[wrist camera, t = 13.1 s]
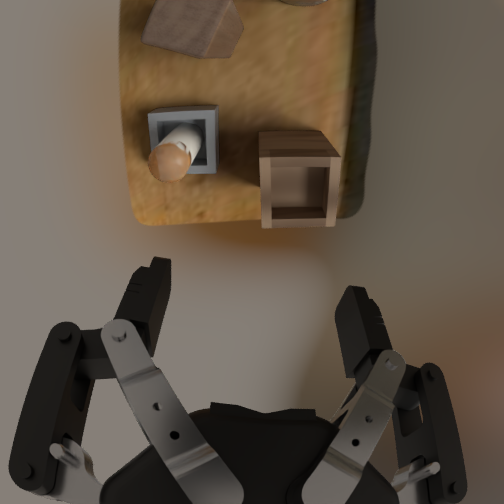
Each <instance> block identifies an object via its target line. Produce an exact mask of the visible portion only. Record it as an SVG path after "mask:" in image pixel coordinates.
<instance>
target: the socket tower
mask: <svg viewBox="0 0 504 504" xmlns="http://www.w3.org/2000/svg"><path fill="white" fill-rule="evenodd" d="M259 165H260V189H261V215H262V228H286V227H287V228H288V227H332V226H335V220H336V211H337V201H338V191H339V180H340V167H341V156H340V155H339V154H338V152H337V151H336V150H335V148H334V147H333V146H332V145H331V143H330V142H329V141H328V139H327V138H326V137H325V136H324V134H323V133H322V132H321V131H259Z"/></svg>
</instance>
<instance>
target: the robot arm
mask: <svg viewBox="0 0 504 504" xmlns="http://www.w3.org/2000/svg"><path fill="white" fill-rule="evenodd" d="M280 1H283V2H285V3H287V4H291V5H295V6H314V5H318V4H321V3H323V2H325V1H327V0H280ZM170 291H171V259H167V258H161V257H154V258H153V260H152V262H151V265H150V267H143V266H141V267H140V268H139V269H137V270H136V271H135V272H134V273H133V275H132V277H131V279H130V281H129V284H128V286H127V289H126V291H125V293H124V296H123V298H122V300H121V302H120V305H119V307H118V310H117V312H116V315H115V317H114V319H113V320H112V321H110V322H108V323H107V324H106V325H105V326H104V327H103V328H101V329H95V330H80V329H79V327H78V326H77V325H76V324H74V323H72V322H61V323H59V324H57V325H55V326H54V327H53V328H52V329H51V331H50V333H49V335H48V338H47V340H46V343H45V345H44V348H43V350H42V353H41V356H40V358H39V361H38V363H37V366H36V369H35V372H34V374H33V377H32V380H31V383H30V386H29V389H28V392H27V395H26V398H25V401H24V405H23V408H22V411H21V415H20V419H19V422H18V426H17V430H16V434H15V437H14V442H13V446H12V450H11V455H10V460H9V473H10V476H11V478H12V480H13V481H14V482H15V484H17V486H19V487H20V488H22V489H24V490H26V491H29V492H31V493H33V494H35V495H38V496H41V497H44V498H47V499H52V500H57V501H65V502H67V503H70V504H456V503H458V502H460V501H461V500H462V499H463V498H464V497H465V495H466V492H467V479H466V472H465V465H464V459H463V454H462V449H461V443H460V438H459V433H458V429H457V424H456V420H455V416H454V412H453V408H452V404H451V400H450V397H449V393H448V389H447V385H446V382H445V379H444V375H443V373H442V371H441V369H440V368H439V367H438V366H437V365H435V364H433V363H425V364H424V365H423V366H422V367H421V368H417V367H414V366H411V365H408V364H406V363H405V360H404V359H403V357H402V356H401V355H400V354H399V353H398V352H396V351H394V350H393V349H392V345H391V342H390V339H389V336H388V333H387V330H386V327H385V325H384V321H383V318H382V315H381V312H380V309H379V307H378V306H377V304H376V303H375V302H374V301H373V299H369V297H368V295H367V292H366V289H365V288H364V287H358V286H351V285H350V286H348V287H347V288H346V290H345V292H344V294H343V296H342V298H341V300H340V302H339V304H338V306H337V308H336V311H335V323H336V327H337V332H338V337H339V342H340V347H341V352H342V357H343V363H344V367H345V373H346V378H355V380H356V383H355V384H354V385H353V387H352V388H351V390H350V392H349V393H348V395H347V396H346V398H345V400H344V401H343V403H342V404H341V406H340V407H339V409H338V411H337V412H336V413H335V415H334V416H333V417H332V418H331V420H330V421H327V420H325V419H323V418H320V417H318V416H316V412H315V409H287V410H282V411H277V412H271V413H261V412H257V411H254V410H251V409H248V408H245V407H242V406H239V405H232V404H223V403H215V402H211V405H210V408H208V409H202V410H197V411H194V412H192V413H189V414H188V413H187V412H186V410H185V409H184V407H183V406H182V404H181V402H180V401H179V399H178V398H177V396H176V394H175V393H174V391H173V390H172V388H171V386H170V384H169V383H168V381H167V379H166V378H165V376H164V374H163V373H162V371H161V370H160V369H159V368H157V367H156V366H155V364H154V363H153V361H152V359H151V357H153V356H154V352H155V348H156V344H157V341H158V337H159V333H160V329H161V325H162V322H163V318H164V315H165V311H166V308H167V304H168V301H169V297H170ZM109 378H116V379H117V381H118V383H119V385H120V387H121V389H122V391H123V393H124V396H125V398H126V400H127V402H128V404H129V406H130V408H131V410H132V412H133V414H134V416H135V418H136V420H137V422H138V424H139V426H140V427H141V429H142V431H143V433H144V435H145V436H146V438H147V440H148V442H149V444H150V445H149V446H148V447H147V448H146V449H145V450H143V451H142V452H141V453H140V454H138V455H137V456H136V457H135V458H133V459H132V460H131V461H130V462H128V463H127V464H126V465H125V466H123V467H122V468H121V469H120V470H118V471H117V472H116V473H114V474H113V475H112V476H111V477H109V478H108V479H107V480H106V482H105V483H104V485H102V484H101V483H100V482H99V481H98V480H97V479H96V477H95V475H94V472H93V461H92V459H91V457H90V455H89V454H88V453H87V452H86V451H85V450H84V449H83V448H82V447H81V442H82V436H83V432H84V427H85V422H86V417H87V413H88V408H89V404H90V400H91V395H92V391H93V387H94V383H95V379H109ZM419 404H420V405H421V410H422V415H423V423H422V420H421V416H420V410H419ZM391 414H392V420H393V426H394V433H395V440H396V449H397V457H398V465H399V466H398V467H399V470H398V471H397V472H396V474H395V477H394V480H393V481H392V483H391V484H390V483H389V482H388V481H387V480H386V479H385V478H384V477H383V476H382V475H381V474H380V473H379V472H378V471H377V470H376V469H375V468H374V467H373V465H371V464H370V462H369V461H368V459H369V457H370V456H371V454H372V452H373V450H374V448H375V446H376V444H377V442H378V440H379V438H380V437H381V434H382V433H383V431H384V428H385V426H386V424H387V422H388V420H389V418H390V416H391Z"/></svg>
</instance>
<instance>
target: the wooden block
mask: <svg viewBox="0 0 504 504" xmlns="http://www.w3.org/2000/svg"><path fill="white" fill-rule="evenodd" d="M243 29H244V26H243V24H242V21H241V19H240V17H239V14H238V12H237V10H236V7H235V5H234V3H233V0H156V1H155V4H154V6H153V8H152V11H151V13H150V15H149V18H148V20H147V23H146V25H145V28H144V30H143V33H142V35H141V42H142V43H144V44H147V45H151V46H155V47H159V48H163V49H167V50H171V51H175V52H178V53H182V54H185V55H189V56H192V57H196V58H199V59H200V58H229V57H231V55H232V53H233V50H234V48H235V46H236V44H237V42H238V40H239V38H240V35H241V33H242V31H243Z"/></svg>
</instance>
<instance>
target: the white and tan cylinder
mask: <svg viewBox="0 0 504 504" xmlns="http://www.w3.org/2000/svg"><path fill="white" fill-rule="evenodd" d="M203 141H204V136H203V132H202V130H201V129H200V128H199V127H198V126H197V125H195V124H193V123H182V124H179V125H178V126H177V127H176V128H175V129H173V130H172V131H171V132H170V133H169V134H168V135H167V136H166V137H165V138H164V139H163V140H162V141H161V142H160V143H159V144H158V145H157V146H156V147H155V148H154V149H153V151H152V152H151V153H150V155H149V159H148V166H149V169H150V172H151V173H152V175H153V176H154V177H155V178H156V179H158V180H160V181H162V182H165V183H174V182H177V181H179V180H181V179H182V178H183V177H184V176H185V175H186V173H187V171H188V169H189V167H190V166H191V164H192V162H193V160H194V158H195V157H196V155H197V153H198V151H199V150H200V148H201V146H202V144H203Z"/></svg>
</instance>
